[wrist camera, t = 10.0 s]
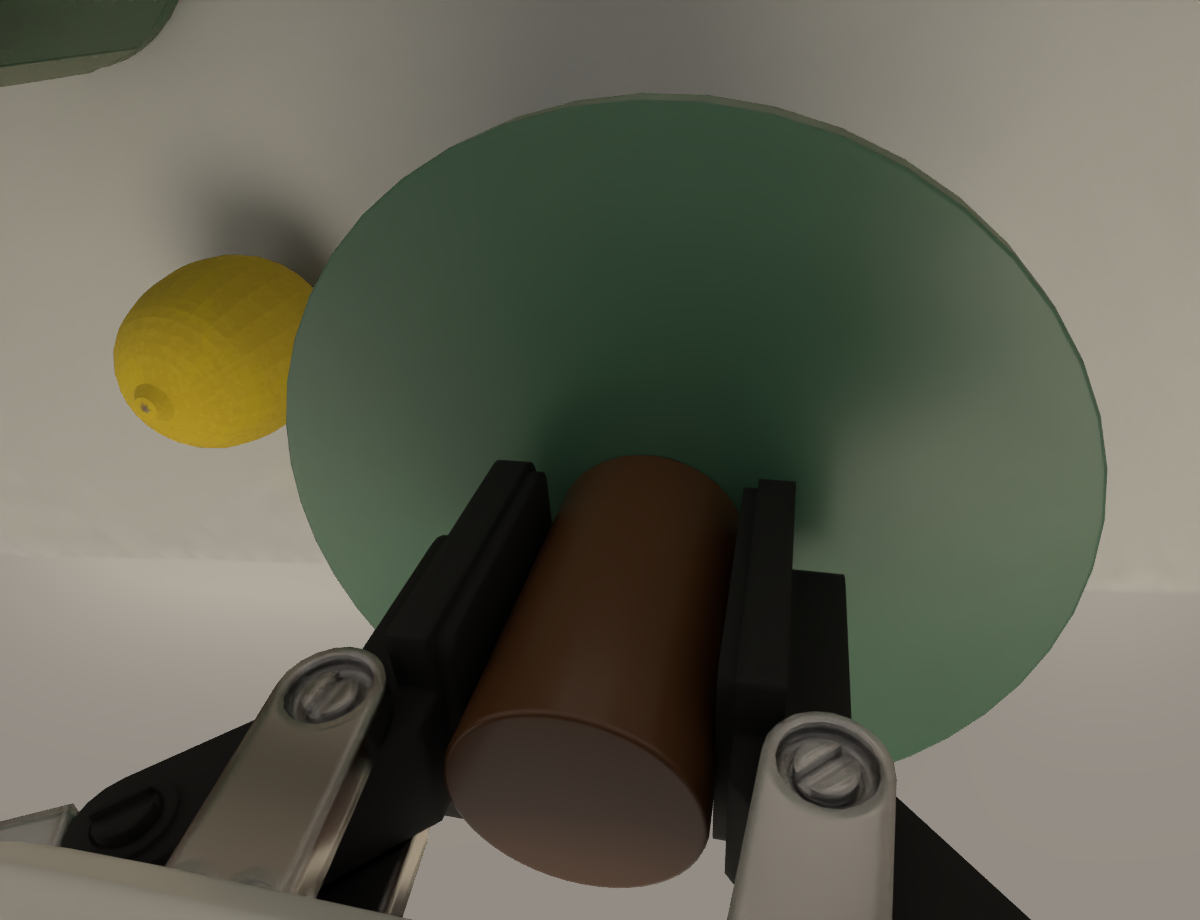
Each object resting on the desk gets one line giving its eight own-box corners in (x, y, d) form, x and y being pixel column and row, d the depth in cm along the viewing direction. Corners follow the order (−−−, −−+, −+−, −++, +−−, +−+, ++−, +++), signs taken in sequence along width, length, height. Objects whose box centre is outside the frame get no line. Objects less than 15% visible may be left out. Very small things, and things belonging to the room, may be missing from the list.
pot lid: (747, -176, 9) (648, -369, 4) (1237, 595, 12) (1538, 1053, 7) (198, 407, 15) (-118, 635, 10) (623, 801, 19) (550, 1119, 13)
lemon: (402, 352, 28) (274, 473, 21) (285, 388, 30) (137, 508, 24) (323, 202, 26) (152, 287, 19) (202, 252, 28) (11, 344, 21)
